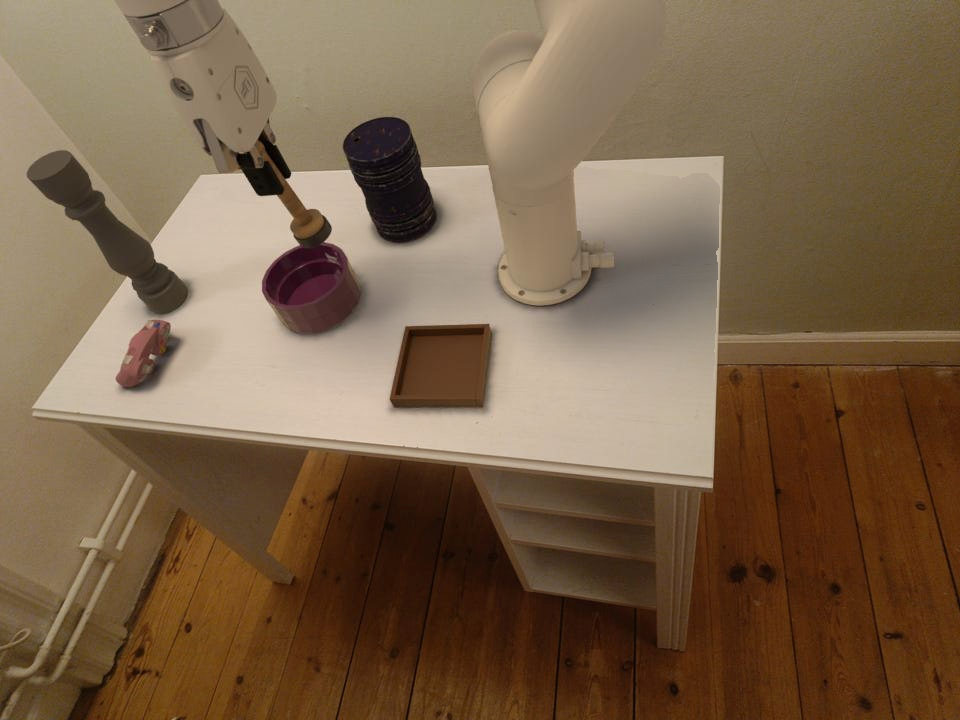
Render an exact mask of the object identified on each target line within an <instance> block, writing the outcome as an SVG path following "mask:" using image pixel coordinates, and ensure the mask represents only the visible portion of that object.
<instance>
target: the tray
mask: <svg viewBox="0 0 960 720" xmlns="http://www.w3.org/2000/svg"><path fill="white" fill-rule="evenodd" d="M492 336H493V332H492V329H491V325H490V323H467V324H466V323H465V324H463V323H462V324H438V325H437V324H435V325H430V324H429V325H406V326H405V327H404V331H403V336H402V340H401V343H400V344H401V345H400V349H399V350H400V351H399V354H398V357H397V363H396V367H395V373H394V377H393V381H392V386H391V391H390V395H389V401H390V403H391V405H392V407H393V408H397V409H399V408H400V409H403V408H404V409H405V408H409V409H410V408H411V409H413V408H415V409H418V408H419V409H420V408H423V409H424V408H426V409H428V408H429V409H433V408H436V409H437V408H439V409H441V408H444V409H445V408H446V409H447V408H452V409H453V408H456V409H457V408H459V409H460V408H462V409H463V408H466V409H467V408H469V409H471V408H482V409H483V408H484V401H485V396H486V386H487V378H488V369H489V361H490V352H491V345H492V343H491V341H492Z"/></svg>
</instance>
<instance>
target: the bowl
mask: <svg viewBox="0 0 960 720" xmlns="http://www.w3.org/2000/svg"><path fill="white" fill-rule="evenodd" d="M349 260H350V259H349V258H348V256H347V255H346V253H345V252H344V250H343V249H342V248H340V247H339V246H337V244H334V243H331V242H325V241H324V242H323V243H322V244H320V245H318V246H316V247H313V248H303V247H301V246H300V245H299V244H298V245H296V246H294V247H293V248H291V249H288V250H287V251H285V252H283V253H282V254H280V255H279V256H277V258H275V259H274V260H273V262H272V263H271V264H270V265H269V267H268V268H267V269H266V271H265V273H264V275H263V278H262V280H261V293H262V294H263V297H264V299H265V300H266V302H267V303H268V305H269V306H270V308H271V309H272V310H273V312H274V313H275V315H276V316H277V318H278V319H279V320H280V322H281V324H282V325H284V326H285V327H286V328H287V329H289V330H290V331H292V332H295V333H299V334H317V333H321V332H324V331H325V332H326V331H328V330H330V329H332V328H334V327H336V326H338V325H340V324H341V323H343V321H345V320H346V319H347V318H348V317H350V315H351V314H352V313H353V312H354V310H355V308H357V305H359V303H360V302H359V301H360V297H361V295H362V290H361V283H360V280H359V279H358V276H357V275H356V273H355V271H354V268H353V266H352V264H351V262H350V261H349Z"/></svg>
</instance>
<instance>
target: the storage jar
mask: <svg viewBox="0 0 960 720" xmlns="http://www.w3.org/2000/svg"><path fill="white" fill-rule="evenodd" d="M342 151H343V153H344V155H345V157H346V160H347V163H348V167H349V169H350V172H351V174H352V176H353V179H354V181H355V183H356V184H357V186H358V187H359V188H360V189H361V192H362V195H363V197H364V203H365V207H366V208H365V209H366V210H367V212H368V214H369V217H370V219H371V221H372V223H373V224H374V226H375V228H376V232H377V234H378V235H379V237H380V238H382V239H383V240H384V241H386V242H389V243H393V244H405V243H410V242H414V241H417V240H418V239H421V238H422V237H424V236H425V235H426V234H428V233H429V232H430V231H431V230H432V229H433V227H434V226H435V224H436V222H437V217H438V215H437V210H436V207H435V204H434V203H435V202H434V198H433V194H432V191H431V187H430V185H429V183H428V181H427V180H426V179H425V176H424V172H423V170H422V159H421V155H420V153H419V149H418V146H417V143H416V141H415V139H414V136H413V132H412V128H411V126H410V124H409V123H408V122H407V121H406V120H405V119H402V118H401V117H395V116H381V117H375V118H372V119H369V120H366V121H364V122H362V123H360V124H359V125H356V126H355V127H353V128H352V129H351V130H350V131H349V132H348V133H347V134H346V136H345V138H344V139H343V142H342Z"/></svg>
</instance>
